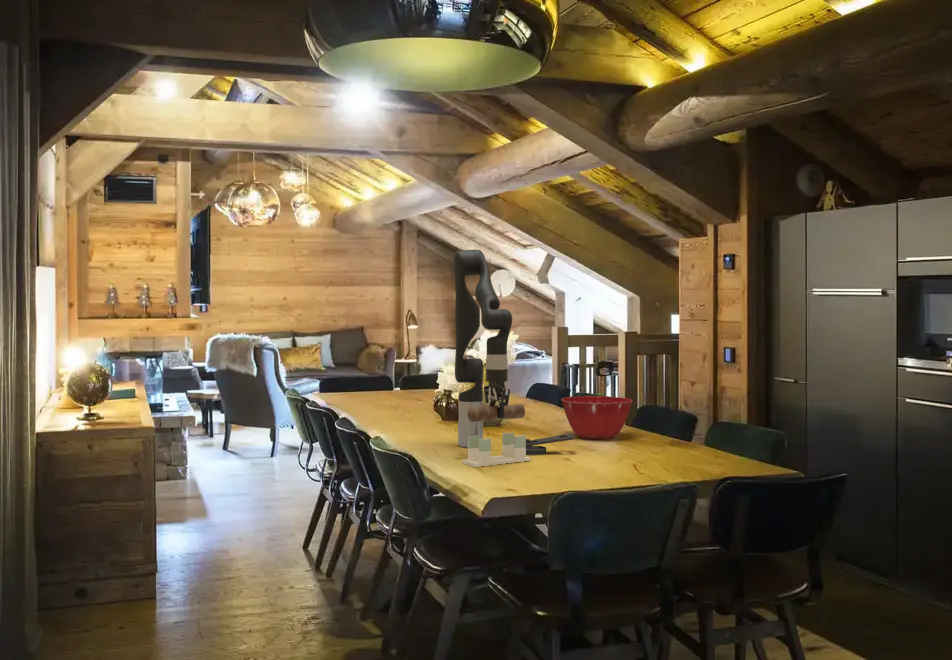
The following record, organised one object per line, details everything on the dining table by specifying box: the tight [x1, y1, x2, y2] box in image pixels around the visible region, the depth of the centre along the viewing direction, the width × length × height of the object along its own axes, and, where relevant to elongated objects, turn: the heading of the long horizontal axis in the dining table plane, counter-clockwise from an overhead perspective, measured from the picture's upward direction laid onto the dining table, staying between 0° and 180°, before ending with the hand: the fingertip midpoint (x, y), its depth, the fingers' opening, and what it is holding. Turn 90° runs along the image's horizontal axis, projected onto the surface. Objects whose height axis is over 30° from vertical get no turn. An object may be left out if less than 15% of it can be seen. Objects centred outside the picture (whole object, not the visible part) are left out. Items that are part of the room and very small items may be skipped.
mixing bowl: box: [561, 395, 633, 440], centre depth 372 cm, size 28×28×16 cm
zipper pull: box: [526, 433, 575, 456], centre depth 334 cm, size 9×7×25 cm
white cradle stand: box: [461, 432, 532, 468], centre depth 316 cm, size 22×9×9 cm, turn 120°
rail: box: [468, 403, 526, 422], centre depth 316 cm, size 20×5×5 cm, turn 120°
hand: (496, 416), depth 316 cm, fingers closed on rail, 4 cm apart
